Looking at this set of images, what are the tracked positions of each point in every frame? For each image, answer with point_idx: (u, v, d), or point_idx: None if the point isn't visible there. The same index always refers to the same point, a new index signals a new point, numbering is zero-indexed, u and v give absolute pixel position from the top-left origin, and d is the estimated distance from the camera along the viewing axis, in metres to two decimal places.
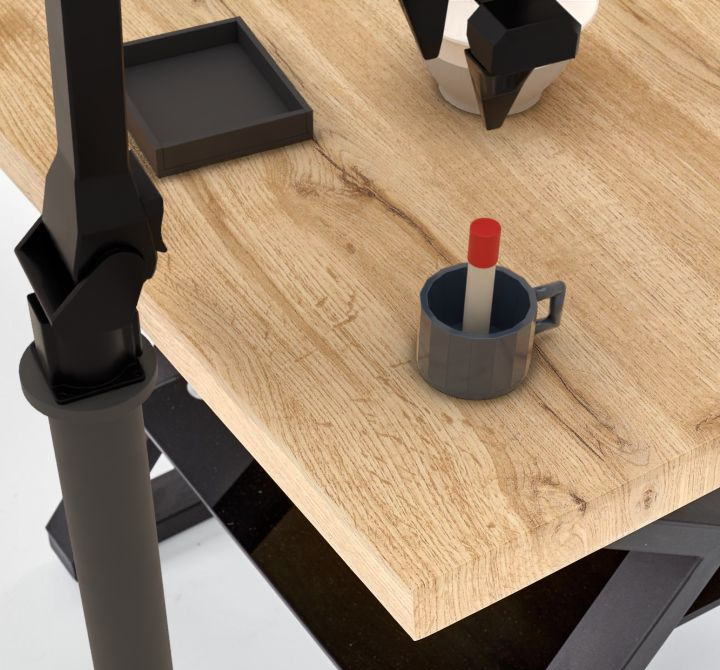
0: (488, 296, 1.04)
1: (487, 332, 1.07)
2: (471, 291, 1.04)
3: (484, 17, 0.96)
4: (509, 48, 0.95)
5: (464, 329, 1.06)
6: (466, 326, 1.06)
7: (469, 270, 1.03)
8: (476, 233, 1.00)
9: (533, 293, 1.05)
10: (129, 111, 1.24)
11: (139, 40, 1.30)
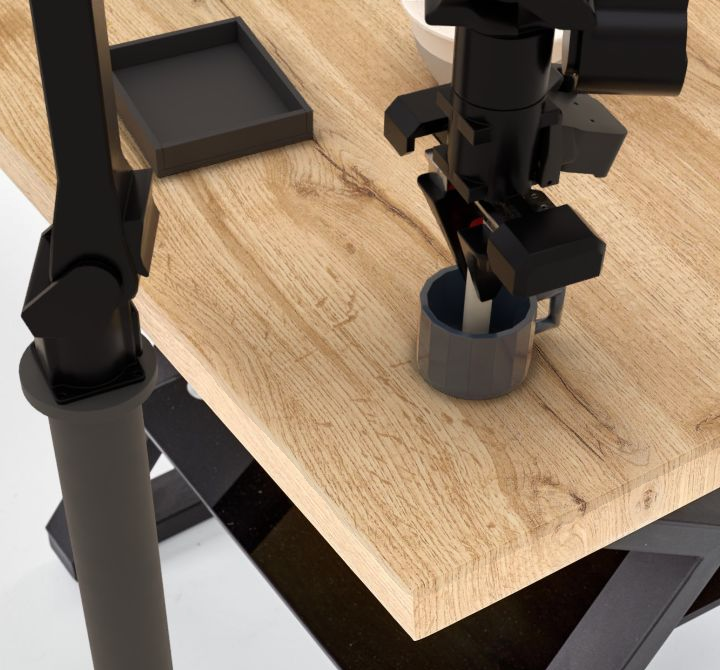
0: None
1: (487, 332, 1.07)
2: (471, 291, 1.04)
3: (506, 237, 0.92)
4: (532, 273, 0.91)
5: (464, 329, 1.06)
6: (466, 326, 1.06)
7: None
8: None
9: None
10: (129, 111, 1.24)
11: (139, 40, 1.30)
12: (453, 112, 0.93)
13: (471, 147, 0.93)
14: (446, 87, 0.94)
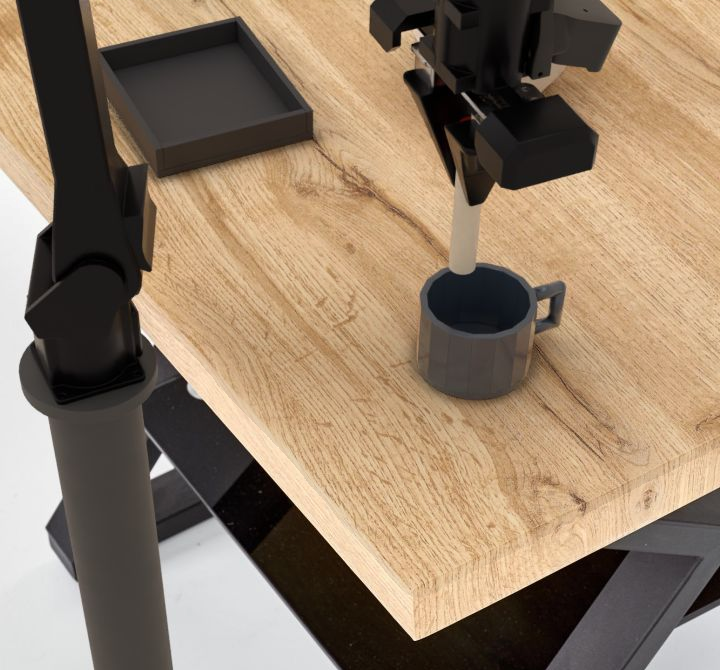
0: None
1: (476, 240, 1.03)
2: (459, 195, 1.00)
3: (494, 127, 0.89)
4: (521, 162, 0.87)
5: (452, 237, 1.03)
6: (454, 233, 1.02)
7: None
8: None
9: (533, 293, 1.05)
10: (129, 111, 1.24)
11: (139, 40, 1.30)
12: None
13: (458, 33, 0.89)
14: None
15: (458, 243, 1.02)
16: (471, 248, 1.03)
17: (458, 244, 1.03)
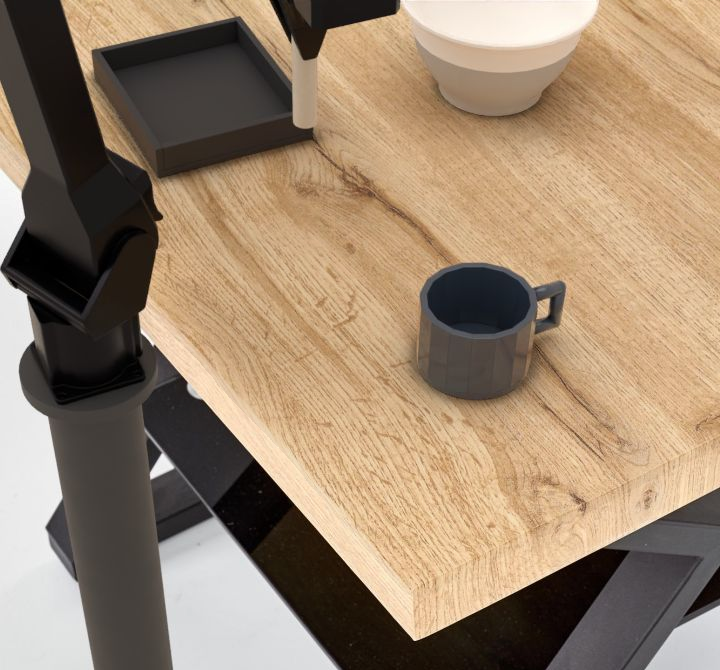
0: None
1: (315, 95, 1.13)
2: (295, 50, 1.10)
3: None
4: (326, 3, 0.98)
5: (293, 92, 1.13)
6: (294, 88, 1.12)
7: None
8: None
9: (533, 293, 1.05)
10: (129, 111, 1.24)
11: (139, 40, 1.30)
12: None
13: None
14: None
15: (298, 97, 1.13)
16: (310, 102, 1.13)
17: (299, 99, 1.13)
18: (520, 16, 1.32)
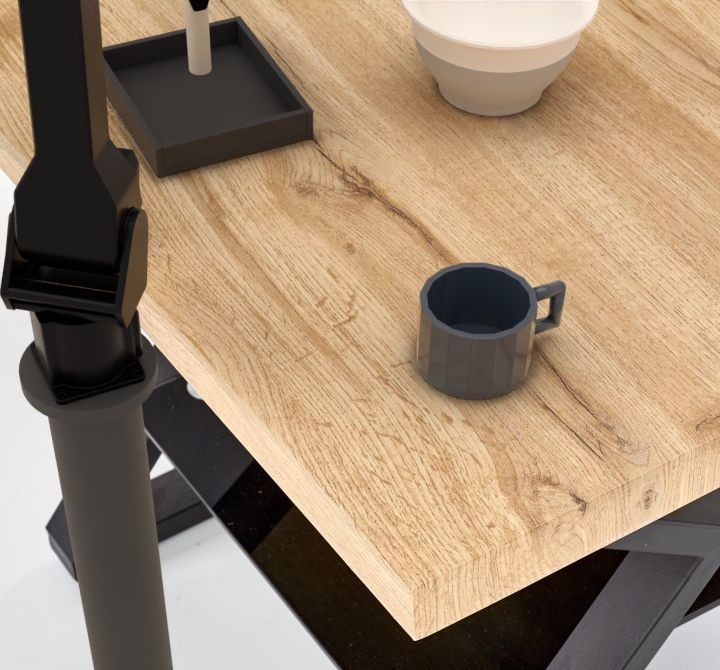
0: None
1: (207, 44, 1.24)
2: (187, 2, 1.21)
3: None
4: None
5: (187, 42, 1.24)
6: (188, 38, 1.23)
7: None
8: None
9: (533, 293, 1.05)
10: (129, 111, 1.24)
11: (139, 40, 1.30)
12: None
13: None
14: None
15: (192, 46, 1.23)
16: (203, 50, 1.24)
17: (192, 47, 1.24)
18: (520, 16, 1.32)
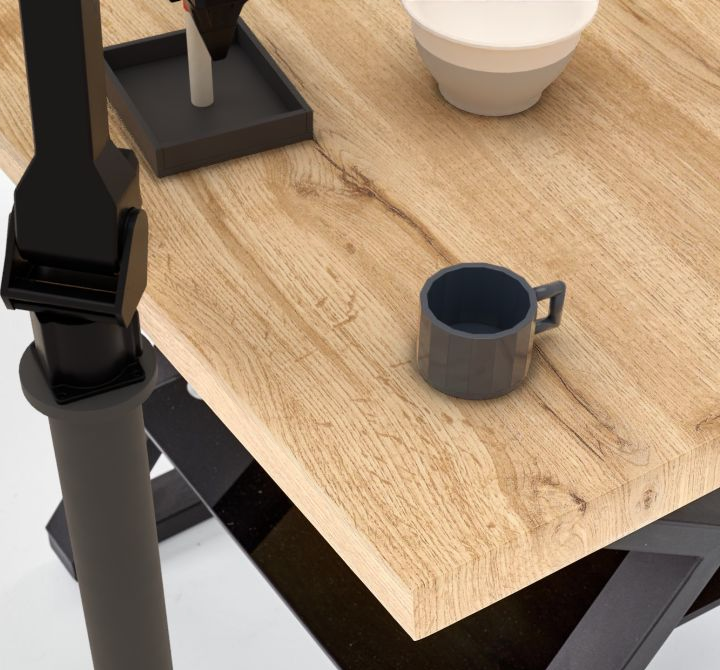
0: None
1: (209, 77, 1.26)
2: (189, 36, 1.23)
3: None
4: None
5: (190, 74, 1.26)
6: (190, 71, 1.25)
7: (185, 16, 1.22)
8: None
9: (533, 293, 1.05)
10: (129, 111, 1.24)
11: (139, 40, 1.30)
12: None
13: None
14: None
15: (194, 79, 1.26)
16: (205, 83, 1.26)
17: (195, 80, 1.26)
18: (520, 16, 1.32)
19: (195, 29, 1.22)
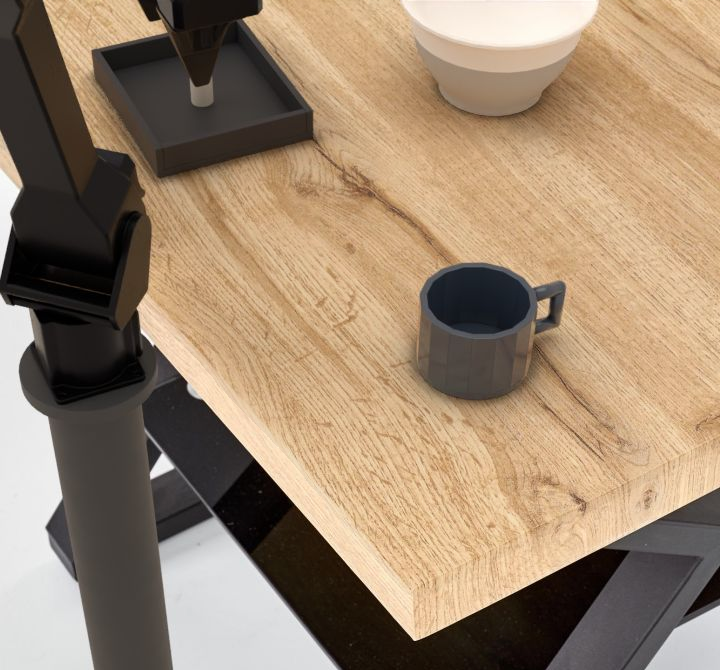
0: None
1: None
2: None
3: None
4: (186, 4, 0.99)
5: None
6: None
7: None
8: None
9: (533, 293, 1.05)
10: (129, 111, 1.24)
11: (139, 40, 1.30)
12: None
13: None
14: None
15: None
16: None
17: None
18: (520, 16, 1.32)
19: None
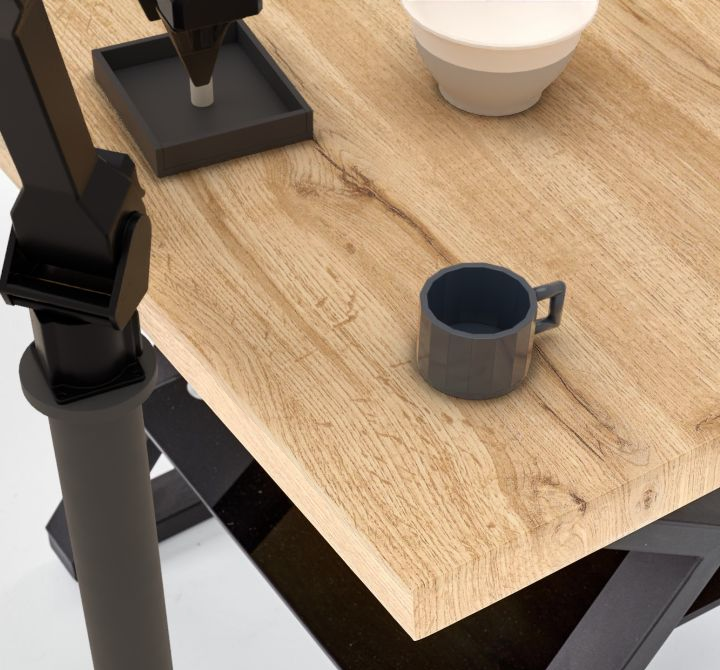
0: None
1: None
2: None
3: None
4: (186, 4, 0.99)
5: None
6: None
7: None
8: None
9: (533, 293, 1.05)
10: (129, 111, 1.24)
11: (139, 40, 1.30)
12: None
13: None
14: None
15: None
16: None
17: None
18: (520, 16, 1.32)
19: None
